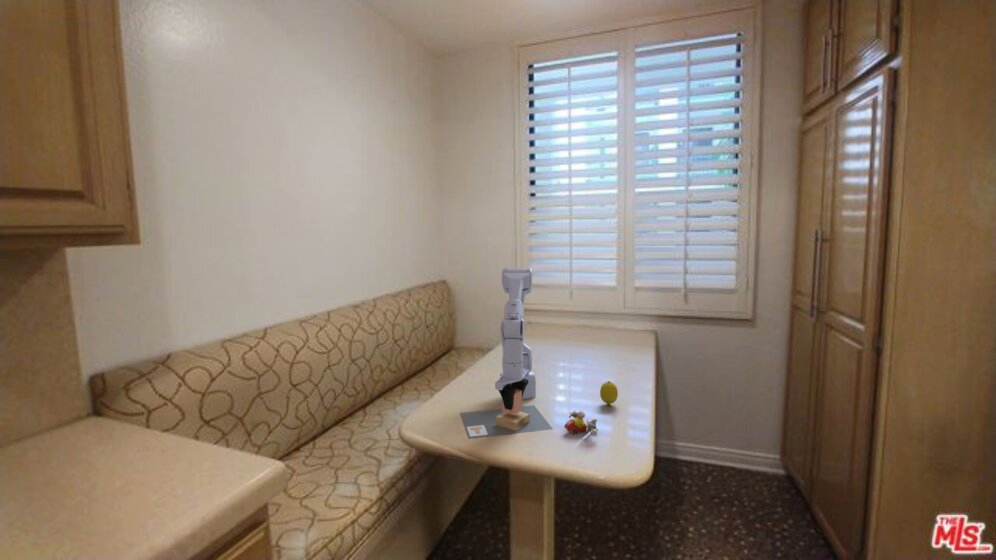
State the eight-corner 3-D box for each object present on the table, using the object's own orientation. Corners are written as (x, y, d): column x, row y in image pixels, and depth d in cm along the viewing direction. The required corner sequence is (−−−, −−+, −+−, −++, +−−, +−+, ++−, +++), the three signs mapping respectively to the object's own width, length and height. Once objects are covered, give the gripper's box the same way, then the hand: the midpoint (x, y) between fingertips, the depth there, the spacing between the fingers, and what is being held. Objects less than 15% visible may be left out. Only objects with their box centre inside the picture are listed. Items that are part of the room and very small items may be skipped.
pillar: (510, 407, 130) (510, 387, 129) (521, 410, 128) (521, 390, 127) (502, 411, 127) (502, 391, 126) (514, 415, 124) (514, 394, 124)
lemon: (618, 402, 144) (618, 379, 143) (616, 409, 138) (617, 384, 138) (600, 400, 145) (601, 377, 145) (598, 407, 140) (599, 383, 139)
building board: (534, 407, 140) (534, 404, 140) (552, 431, 124) (552, 428, 124) (459, 415, 135) (459, 412, 135) (468, 441, 119) (468, 438, 118)
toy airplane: (563, 437, 121) (563, 414, 120) (571, 423, 129) (571, 402, 128) (596, 443, 117) (596, 420, 117) (602, 428, 126) (602, 407, 125)
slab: (510, 416, 132) (510, 408, 132) (529, 422, 128) (529, 414, 128) (496, 424, 127) (496, 416, 126) (516, 431, 123) (516, 422, 122)
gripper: (515, 352, 133) (515, 395, 135) (486, 364, 122) (486, 411, 123) (535, 356, 129) (535, 400, 131) (507, 369, 117) (507, 417, 119)
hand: (512, 406), depth 127 cm, fingers closed on pillar, 4 cm apart
